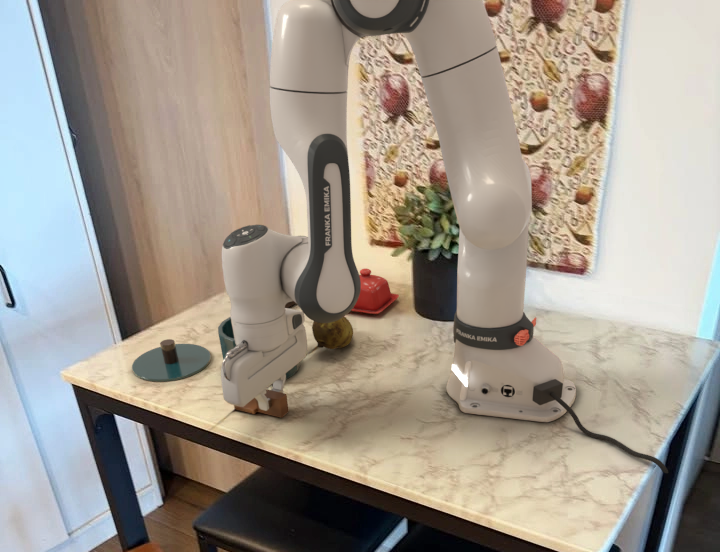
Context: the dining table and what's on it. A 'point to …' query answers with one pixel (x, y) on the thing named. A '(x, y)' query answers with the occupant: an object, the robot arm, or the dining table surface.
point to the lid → (171, 362)
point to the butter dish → (373, 294)
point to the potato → (333, 333)
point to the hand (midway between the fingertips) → (272, 403)
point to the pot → (229, 343)
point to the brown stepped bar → (277, 402)
